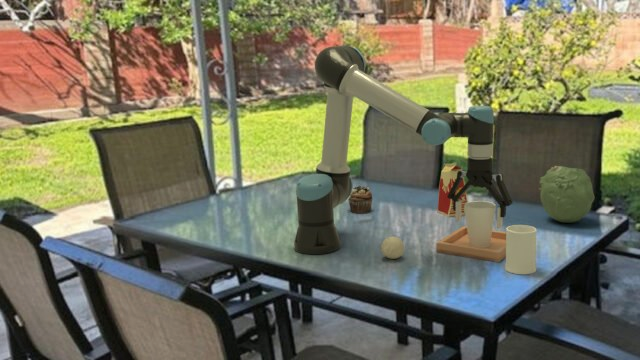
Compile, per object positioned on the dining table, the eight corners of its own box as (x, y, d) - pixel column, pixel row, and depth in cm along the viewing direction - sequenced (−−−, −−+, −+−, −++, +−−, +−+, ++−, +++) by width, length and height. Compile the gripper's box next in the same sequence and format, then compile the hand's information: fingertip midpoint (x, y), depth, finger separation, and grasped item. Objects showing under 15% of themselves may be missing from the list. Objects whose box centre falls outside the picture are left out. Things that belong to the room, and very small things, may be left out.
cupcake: (375, 208, 252) (374, 183, 250) (370, 214, 243) (369, 189, 241) (351, 207, 254) (350, 183, 252) (346, 213, 245) (345, 188, 243)
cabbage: (584, 231, 209) (587, 172, 204) (529, 222, 221) (531, 167, 217) (601, 220, 220) (603, 164, 216) (548, 212, 233) (549, 159, 228)
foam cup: (492, 239, 202) (492, 200, 199) (497, 249, 193) (498, 208, 190) (462, 240, 203) (462, 201, 200) (466, 249, 194) (466, 208, 191)
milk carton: (469, 213, 237) (469, 161, 232) (448, 217, 233) (448, 164, 229) (456, 208, 245) (455, 158, 241) (435, 211, 242) (435, 160, 237)
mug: (520, 259, 186) (521, 220, 184) (547, 265, 180) (548, 225, 178) (499, 270, 178) (499, 229, 176) (526, 277, 172) (527, 235, 170)
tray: (498, 262, 184) (498, 252, 184) (436, 251, 196) (436, 242, 195) (521, 243, 200) (522, 234, 199) (463, 234, 212) (463, 226, 211)
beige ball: (376, 259, 192) (375, 238, 191) (391, 252, 197) (390, 232, 196) (393, 263, 188) (393, 242, 186) (408, 257, 193) (408, 236, 191)
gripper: (524, 158, 188) (522, 226, 192) (447, 151, 202) (447, 215, 207) (516, 162, 182) (513, 232, 186) (437, 155, 196) (436, 221, 201)
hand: (478, 223), depth 197 cm, fingers open, 13 cm apart
